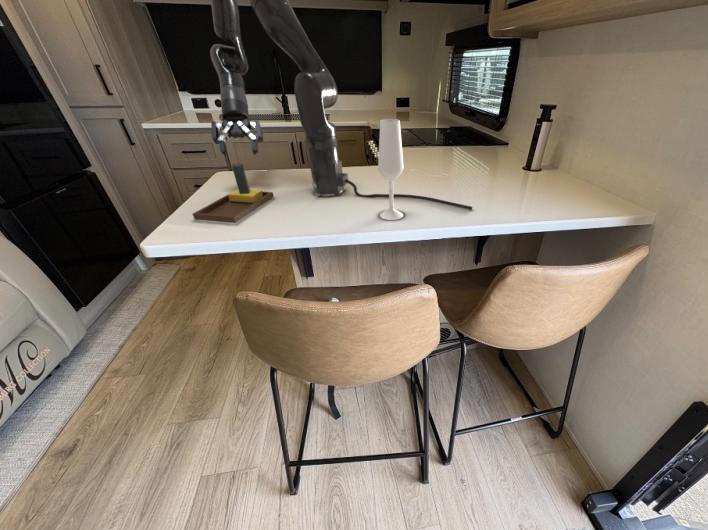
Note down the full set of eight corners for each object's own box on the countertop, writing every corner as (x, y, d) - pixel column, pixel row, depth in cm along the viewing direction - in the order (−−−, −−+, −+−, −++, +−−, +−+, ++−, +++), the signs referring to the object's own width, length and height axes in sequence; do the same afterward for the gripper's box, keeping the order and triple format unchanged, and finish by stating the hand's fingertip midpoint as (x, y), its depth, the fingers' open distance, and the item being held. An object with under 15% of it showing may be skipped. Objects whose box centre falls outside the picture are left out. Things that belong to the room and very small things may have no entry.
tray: (274, 198, 105) (272, 192, 104) (236, 224, 89) (233, 217, 88) (238, 196, 107) (236, 189, 106) (195, 221, 91) (192, 213, 90)
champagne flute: (401, 210, 97) (402, 118, 83) (404, 219, 92) (405, 122, 77) (379, 211, 96) (375, 118, 82) (380, 220, 91) (377, 123, 77)
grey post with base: (263, 198, 103) (254, 163, 97) (254, 204, 99) (244, 168, 93) (240, 196, 105) (230, 161, 98) (230, 202, 100) (219, 166, 94)
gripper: (205, 97, 98) (209, 147, 96) (255, 96, 101) (261, 145, 98) (214, 115, 105) (219, 162, 103) (261, 114, 108) (267, 159, 106)
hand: (239, 154), depth 101 cm, fingers open, 8 cm apart
